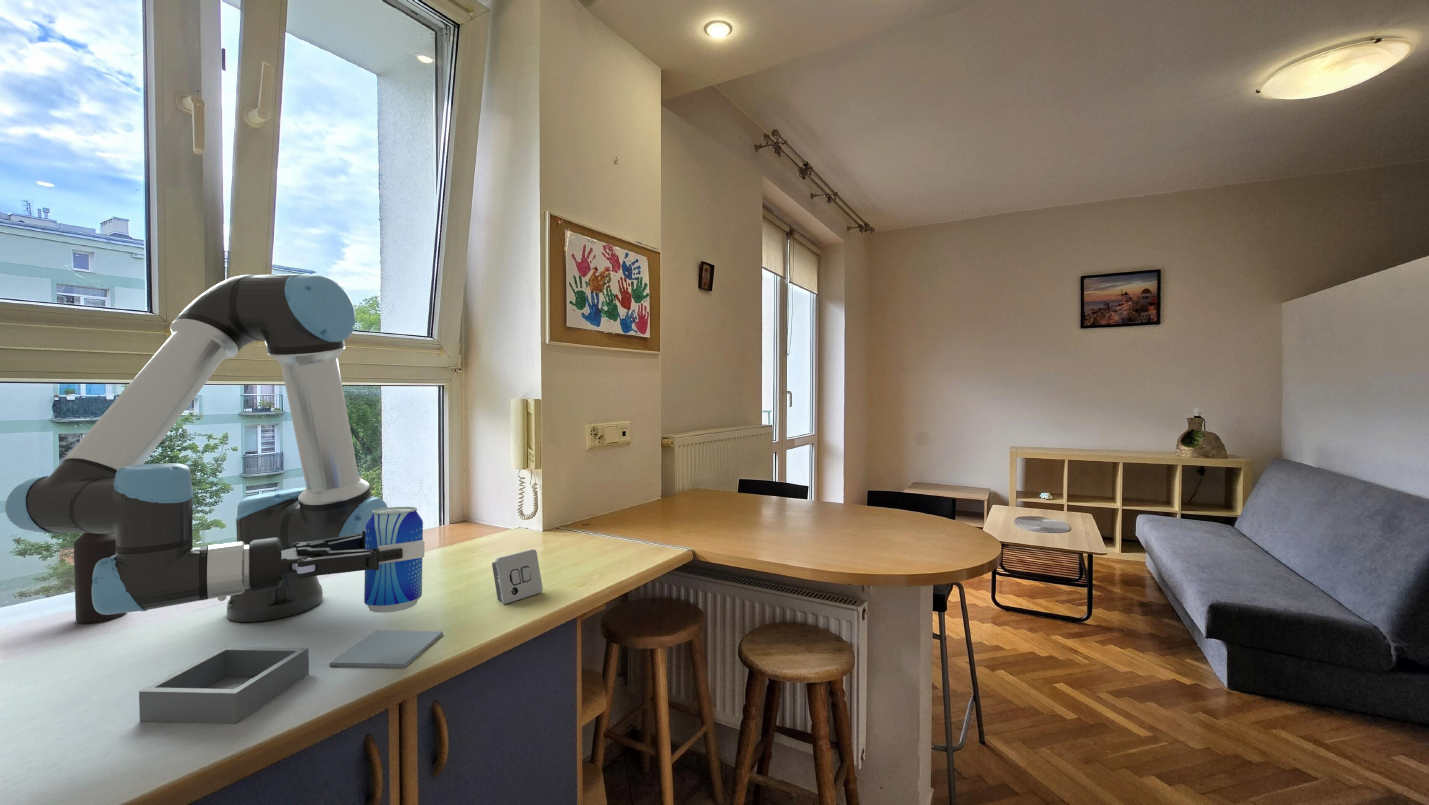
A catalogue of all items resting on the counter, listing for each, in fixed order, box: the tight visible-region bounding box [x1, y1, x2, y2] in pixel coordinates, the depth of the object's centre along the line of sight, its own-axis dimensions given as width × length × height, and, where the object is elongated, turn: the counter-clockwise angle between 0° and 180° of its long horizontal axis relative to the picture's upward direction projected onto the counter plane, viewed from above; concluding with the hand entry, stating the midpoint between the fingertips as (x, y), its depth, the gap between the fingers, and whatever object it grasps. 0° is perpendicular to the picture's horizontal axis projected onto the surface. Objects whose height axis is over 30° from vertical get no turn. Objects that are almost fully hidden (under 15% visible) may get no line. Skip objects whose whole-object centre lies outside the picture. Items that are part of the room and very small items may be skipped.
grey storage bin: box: [138, 646, 310, 724], centre depth 82 cm, size 13×13×4 cm
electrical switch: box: [491, 548, 544, 605], centre depth 122 cm, size 9×5×9 cm, turn 141°
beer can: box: [363, 506, 424, 614], centre depth 97 cm, size 8×8×16 cm
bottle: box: [73, 533, 128, 625], centre depth 109 cm, size 7×7×20 cm
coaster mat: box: [329, 629, 444, 668], centre depth 97 cm, size 12×12×1 cm
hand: (417, 542), depth 99 cm, fingers closed on beer can, 8 cm apart
